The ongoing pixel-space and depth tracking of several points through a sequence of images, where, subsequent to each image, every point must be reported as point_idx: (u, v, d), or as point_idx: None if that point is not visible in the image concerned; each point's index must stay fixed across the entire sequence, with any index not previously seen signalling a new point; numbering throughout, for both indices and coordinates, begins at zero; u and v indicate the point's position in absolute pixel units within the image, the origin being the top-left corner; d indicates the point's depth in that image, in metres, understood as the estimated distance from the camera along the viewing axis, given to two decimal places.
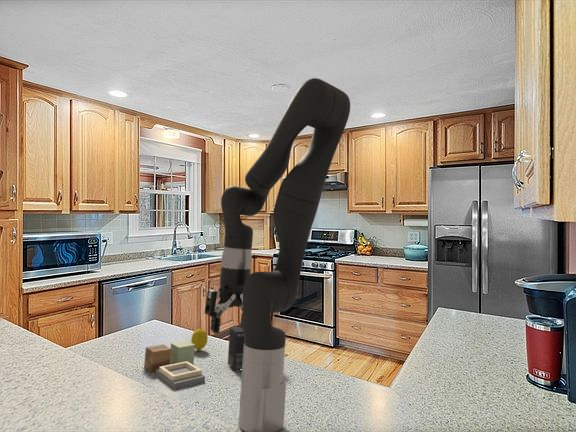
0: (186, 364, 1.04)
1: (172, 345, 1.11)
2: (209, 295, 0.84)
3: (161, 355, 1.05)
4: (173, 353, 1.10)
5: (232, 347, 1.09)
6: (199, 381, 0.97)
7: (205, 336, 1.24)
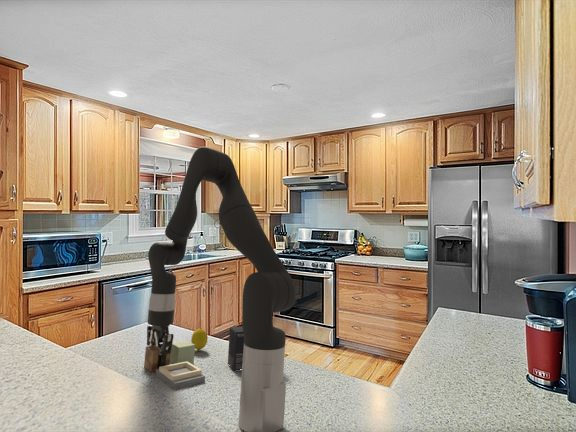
0: (186, 364, 1.04)
1: (172, 345, 1.11)
2: (168, 339, 1.02)
3: None
4: (173, 353, 1.10)
5: (232, 347, 1.09)
6: (199, 381, 0.97)
7: (205, 336, 1.24)
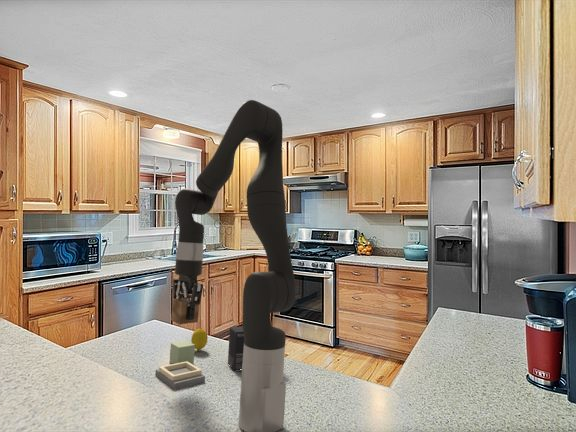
0: (186, 364, 1.04)
1: (172, 345, 1.11)
2: (197, 289, 0.97)
3: None
4: (173, 353, 1.10)
5: (232, 347, 1.09)
6: (199, 381, 0.97)
7: (205, 336, 1.24)
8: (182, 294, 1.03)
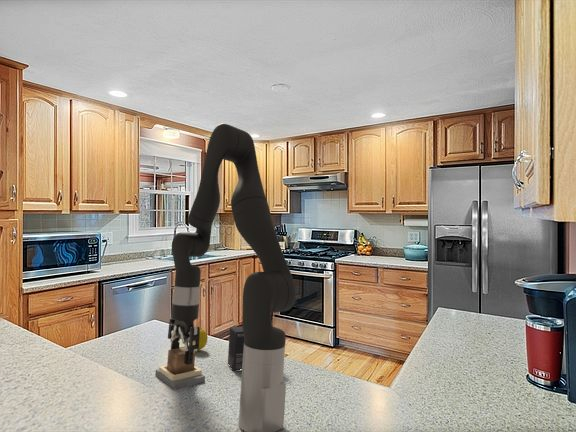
0: None
1: None
2: (194, 332, 0.96)
3: None
4: None
5: (232, 347, 1.09)
6: (199, 381, 0.97)
7: (205, 336, 1.24)
8: None
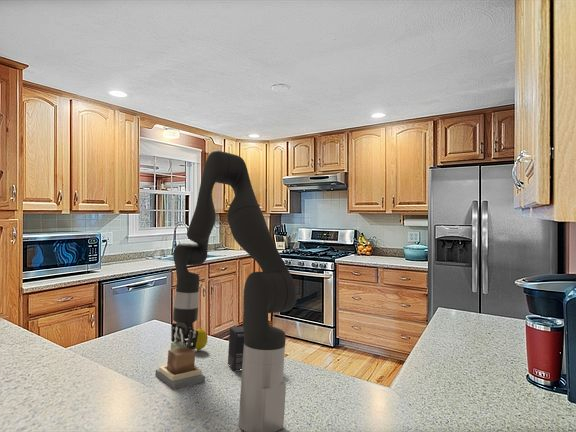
0: None
1: (172, 345, 1.11)
2: (193, 336, 1.08)
3: (185, 359, 0.98)
4: None
5: (232, 347, 1.09)
6: (199, 381, 0.97)
7: (205, 336, 1.24)
8: (179, 338, 1.14)
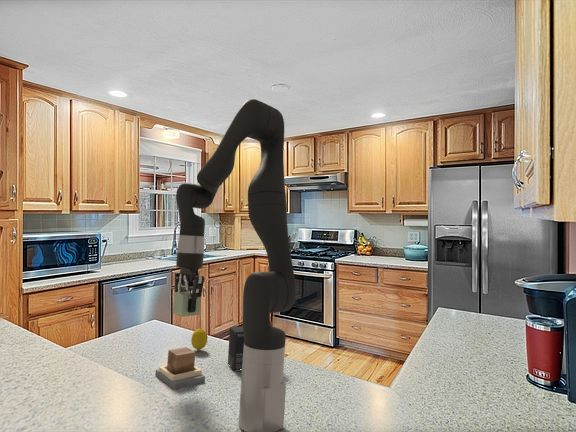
0: None
1: (176, 294, 1.01)
2: (198, 281, 0.97)
3: (185, 359, 0.98)
4: (177, 302, 1.00)
5: (232, 347, 1.09)
6: (199, 381, 0.97)
7: (205, 336, 1.24)
8: (183, 287, 1.04)
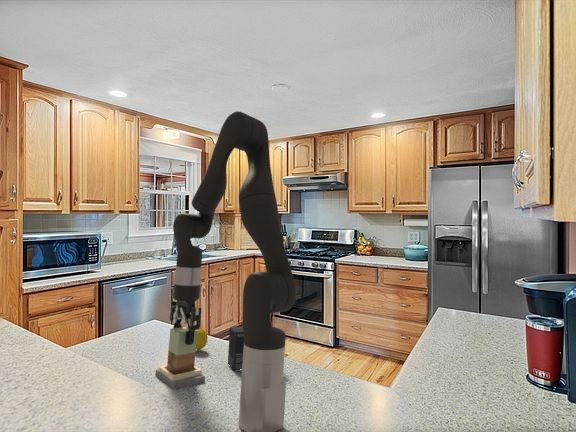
0: None
1: (172, 331, 1.00)
2: (196, 313, 0.96)
3: (185, 359, 0.98)
4: (173, 340, 0.99)
5: (232, 347, 1.09)
6: (199, 381, 0.97)
7: (205, 336, 1.24)
8: (179, 317, 1.03)
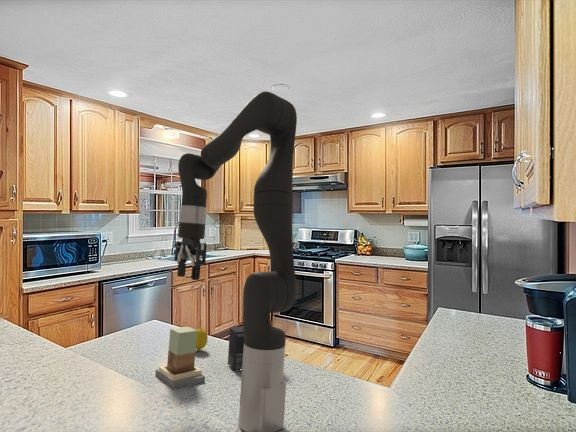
0: None
1: (172, 331, 1.00)
2: (201, 247, 0.97)
3: (185, 359, 0.98)
4: (173, 340, 0.99)
5: (232, 347, 1.09)
6: (199, 381, 0.97)
7: (205, 336, 1.24)
8: (184, 257, 1.04)
